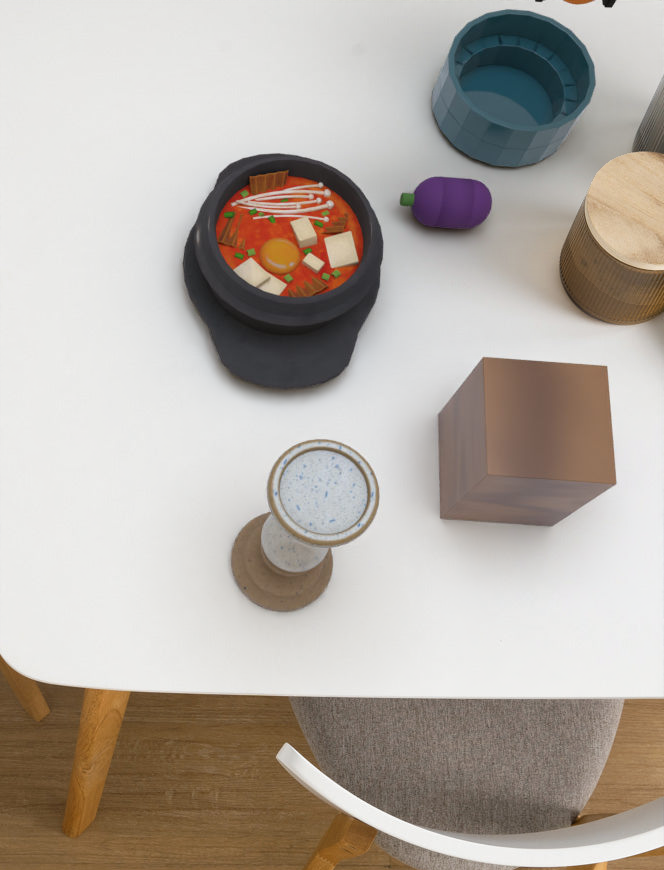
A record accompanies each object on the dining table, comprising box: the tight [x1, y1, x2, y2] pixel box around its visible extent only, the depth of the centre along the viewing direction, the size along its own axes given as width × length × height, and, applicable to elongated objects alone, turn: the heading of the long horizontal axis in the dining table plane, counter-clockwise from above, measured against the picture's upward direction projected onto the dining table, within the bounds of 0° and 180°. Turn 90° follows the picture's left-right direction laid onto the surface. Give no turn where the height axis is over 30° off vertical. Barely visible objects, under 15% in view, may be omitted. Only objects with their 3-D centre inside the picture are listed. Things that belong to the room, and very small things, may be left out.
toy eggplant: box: [399, 176, 493, 230], centre depth 93 cm, size 9×5×5 cm, turn 86°
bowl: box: [431, 8, 597, 168], centre depth 96 cm, size 14×14×6 cm
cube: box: [437, 356, 618, 527], centre depth 81 cm, size 10×10×12 cm
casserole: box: [182, 152, 384, 390], centre depth 88 cm, size 25×19×8 cm
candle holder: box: [230, 438, 381, 612], centre depth 74 cm, size 9×9×20 cm
